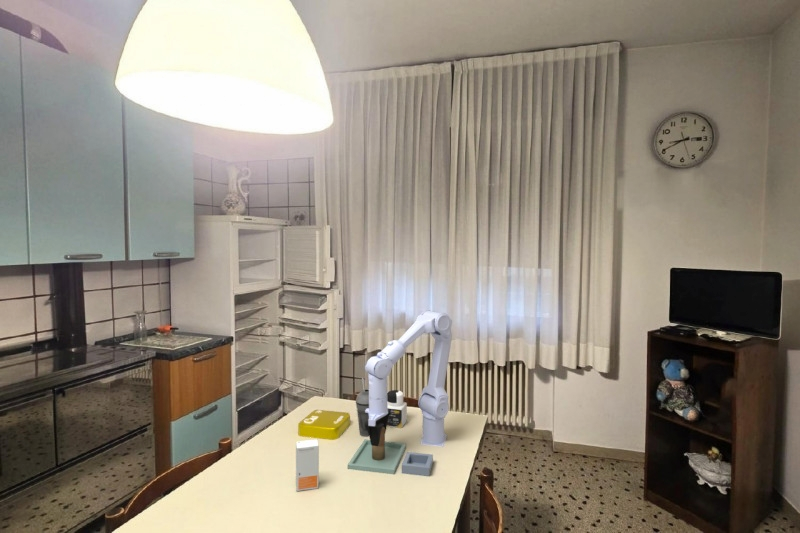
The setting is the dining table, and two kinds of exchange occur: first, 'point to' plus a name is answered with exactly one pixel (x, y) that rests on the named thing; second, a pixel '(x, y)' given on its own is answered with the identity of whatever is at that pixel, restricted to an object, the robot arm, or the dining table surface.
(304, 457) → the skincare box
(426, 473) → the grey square recessed block
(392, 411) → the medicine bottle
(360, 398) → the beverage cup
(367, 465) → the tray
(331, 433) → the element tile
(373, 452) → the dowel
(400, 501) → the dining table surface
